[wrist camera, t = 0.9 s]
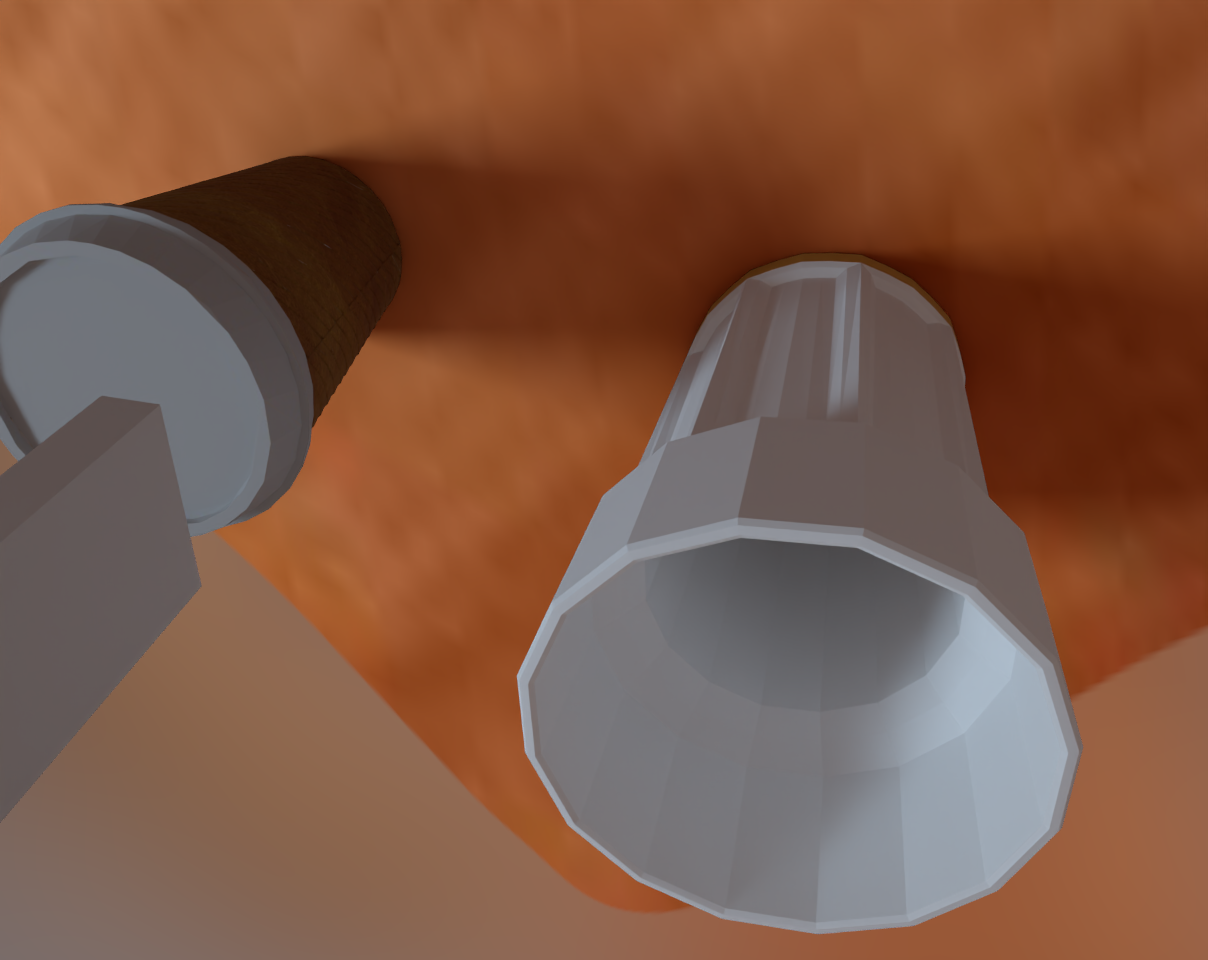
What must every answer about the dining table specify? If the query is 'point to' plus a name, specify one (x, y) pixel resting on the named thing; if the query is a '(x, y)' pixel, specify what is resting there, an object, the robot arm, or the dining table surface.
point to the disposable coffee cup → (199, 320)
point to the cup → (807, 627)
